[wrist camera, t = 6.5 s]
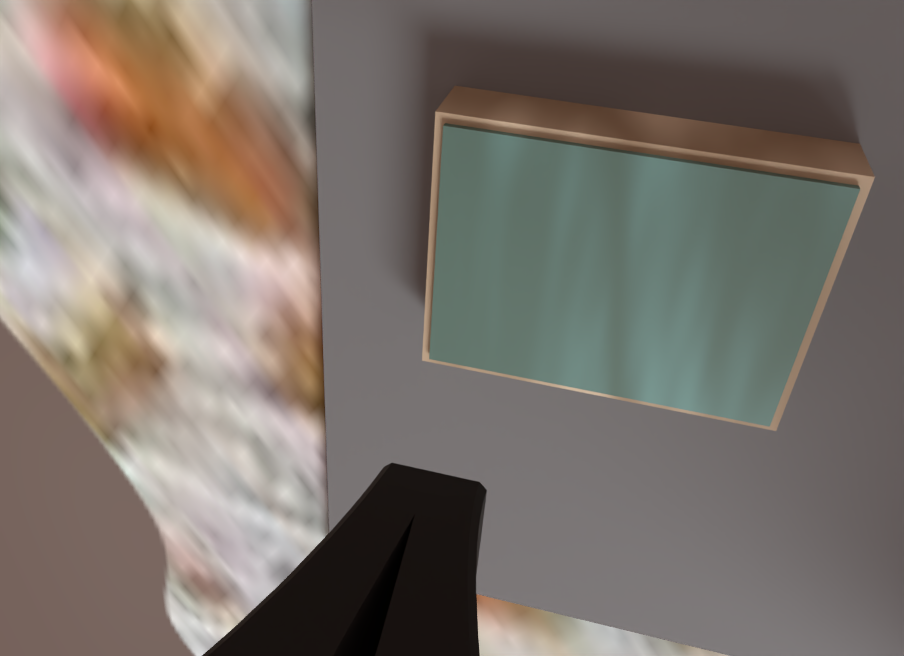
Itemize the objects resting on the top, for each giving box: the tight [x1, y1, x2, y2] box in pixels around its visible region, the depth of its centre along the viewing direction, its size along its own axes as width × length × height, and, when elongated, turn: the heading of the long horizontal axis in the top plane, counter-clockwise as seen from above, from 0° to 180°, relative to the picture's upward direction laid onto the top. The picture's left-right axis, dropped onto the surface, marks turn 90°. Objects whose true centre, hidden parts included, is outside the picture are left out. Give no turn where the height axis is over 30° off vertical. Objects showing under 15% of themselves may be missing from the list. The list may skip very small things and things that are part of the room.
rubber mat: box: [312, 0, 904, 656], centre depth 19 cm, size 18×22×1 cm
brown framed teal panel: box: [422, 86, 875, 431], centre depth 17 cm, size 2×6×8 cm
